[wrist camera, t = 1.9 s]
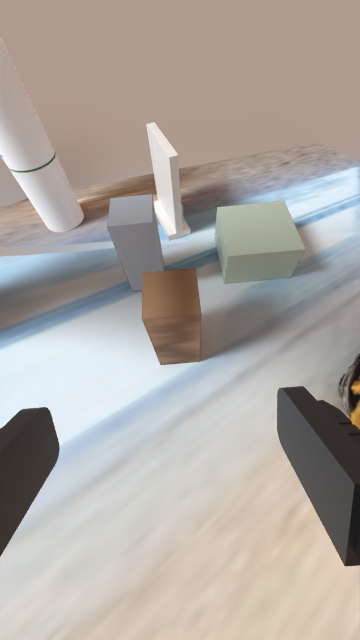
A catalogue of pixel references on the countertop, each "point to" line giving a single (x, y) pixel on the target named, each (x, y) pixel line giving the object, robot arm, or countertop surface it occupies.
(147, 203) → the slate block
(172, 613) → the countertop surface
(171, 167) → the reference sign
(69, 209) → the cylindrical container
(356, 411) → the small rounded object
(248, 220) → the sage base block
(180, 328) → the walnut block
